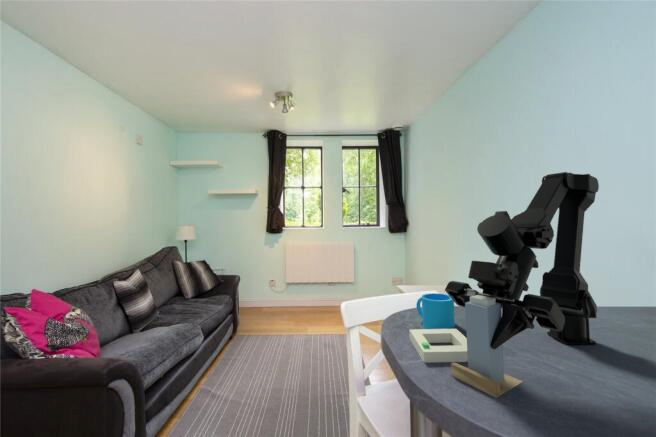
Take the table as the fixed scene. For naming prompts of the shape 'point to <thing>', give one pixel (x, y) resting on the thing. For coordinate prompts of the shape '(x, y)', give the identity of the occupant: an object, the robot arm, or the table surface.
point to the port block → (439, 353)
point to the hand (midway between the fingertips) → (479, 343)
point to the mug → (436, 311)
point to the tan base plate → (484, 380)
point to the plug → (483, 337)
